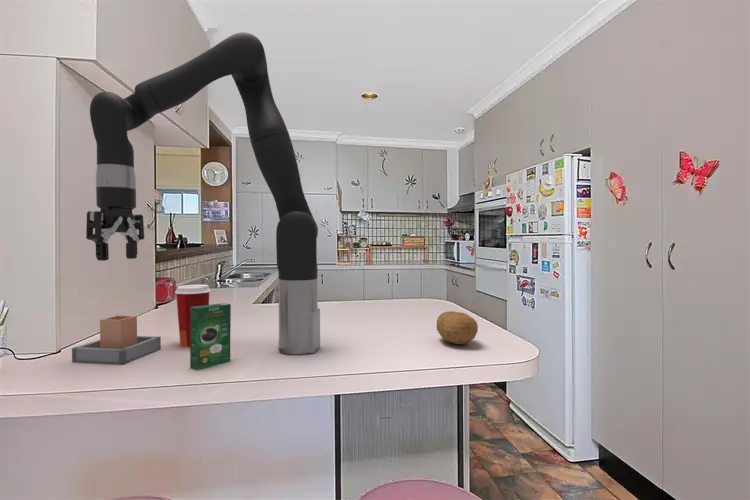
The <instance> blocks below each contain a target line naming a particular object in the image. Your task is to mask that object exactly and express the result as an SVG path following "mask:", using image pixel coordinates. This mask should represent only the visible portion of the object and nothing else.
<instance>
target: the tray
mask: <svg viewBox="0 0 750 500" xmlns="http://www.w3.org/2000/svg"><path fill="white" fill-rule="evenodd" d="M161 341H162V338H161V336H153V335H152V336H148V335H146V336H145V335H137V344H135V345H132V346H129V347H126V348H124V349H110V348H100V339H98V340H95V341H92V342H88V343H85V344H81V345H78V346H75V347H72V348H71V363H74V364H75V363H78V364H98V365H119V366H123V365H126V364H128V363H131V362H133V361H137V360H138V359H140V358H143V357H146V356H148V355H150V354H154V353H155V352H158V351H160V350H161V349H162V344H161Z"/></svg>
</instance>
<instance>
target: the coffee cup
mask: <svg viewBox="0 0 750 500" xmlns="http://www.w3.org/2000/svg"><path fill="white" fill-rule="evenodd" d="M210 292H212V290H211V289H210V286H209V285H208V284H185V285H183V284H182V285H179V286H177V287H176V290H175V291H174V293H175V294H176V306H177V309H176V310H177V320H178V331H179V333H178V334H179V344H180V346H181V347H183V348H185V347H186V348H190V329H191V307H195V306H204V305H210Z"/></svg>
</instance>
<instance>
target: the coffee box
mask: <svg viewBox="0 0 750 500" xmlns="http://www.w3.org/2000/svg"><path fill="white" fill-rule="evenodd" d="M231 306H232V305H231V303H228V302H223V303H222V302H220V303H214V304H213V303H212V304H209V305H204V306H195V307H191V329H190V347H189V354H190V356H189V363H190V364H189V367H190V369H191V370H195V371H200V370H205V369H207V368H211V367H214V366H217V365H221V364H225V363H229V362H231V321H232V320H231V317H232V314H231V312H232V311H231V309H232V308H231Z"/></svg>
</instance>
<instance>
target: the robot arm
mask: <svg viewBox="0 0 750 500" xmlns="http://www.w3.org/2000/svg"><path fill="white" fill-rule="evenodd" d="M268 71H269V70H268V62H267V57H266V53H265V48H264V45H263V43H262V42H261V40H260V39H259V37H257V36H256V35H254V34H252V33H250V32H246V31H245V32H236V33H234V34H232V35H230V36H228V37H227V38H225V39H223V40H222V41H220V42H219V43H217V44H216V45H214V46H212V47H210V48H209V49H207V50H206V51H204V52H203V53H201V54H198V55H197V56H196V57H193V58H192V59H190V60H189V61H187V62H185V63H183V64H182V65H179V66H177V67H175V68H173V69H170V70H168V71H166V72H164V73H160V74H157V75H156V76H153V77H150V78H148V79H146V80H143V81H141V82H140V83H139V82H138V84H136V85H135V86H134V92H133V93H132V94H130V95H128V96H127V97H124V98H122V97H121V96H120V95H118V94H117V93H114V92H111V91H101V92H98V93H97V94H96V95H94V96H93V97H92V99H91V101H90V102H91V103H90V105H89V106H90V107H89V116H90V123H91V127H92V131H93V136H94V139H95V142H96V143H95V144H96V172H95V195H96V196H95V197H96V198H95V199H96V206H97V208H99V209H100V210H99V211H98V210H96V211H95V210H93V211H91V210H89V211H87V212H86V229H85V230H86V232H85V233H86V235H85V237H86V240H88V241H91V242H92V241H93V243H95V257H96V260H97V261H101V262H102V261H103V262H104V261H105V262H106V261H109V255H110V254H109V253H110V252H109V243H108V242H109V240H110V239H111V236H113V235H115V233H119V234H120V235H121V236H123V238H124V239H125V241H126V242H125V256H126V259H129V260H130V259H134V260H135V259H137V258H138V243H139V242H140V241H141V240H144V239H145V228H144V227H145V226H144V216H143V214H133V210H134V209H136V208H137V187H136V186H137V185H136V182H137V181H136V171H135V153H134V146H133V144H132V143H131V141H130V140H129V137H128V132H129V131H130V132H131V131H132V130H134V129H137V128H138V127H140V126H142V125H143V124H145V123H147V122H148V121H149V120H151V119H152V118H154V117H155V116H156V115H157V114H160V113H163V112H165V111H168V110H170V109H172V108H174V107H177V106H179V105H183V104H184V103H185V102H187V101H189V100H190V99H192V98H193V97H195V95H197V94H198V93H199V92H200V91H201V90H203V89H204V88H206V87H207V86H208V85H210V84H211V83H213V82H215V81H217V80H218V79H219V80H220V79H221V78H224V77H226V76H227V77H228V76H232V79H233V80H234V83H235V86H236V88H237V90H238V92H239V96H240V97H241V101H242V103H243V106H244V111H245V117H246V126H247V131H248V135H249V140H250V143H251V148H252V150H253V151H252V152H253V153H254V158H255V160H256V163H257V166H258V168H259V170H260V173H261V174H262V176H263V179H264V181H265V183H266V185H267V187H268V188H269V191H270V193H271V194H272V197H273V200H274V202H275V206H276V210H277V214H278V219H279V220H278V222H277V224H276V226H277V227H276V233H275V238H276V240H275V241H276V243H275V244H276V245H275V246H276V266H277V268H276V269H277V271H278V274H277V275H278V352H280V353H281V354H285V355H305V354H314V353H315V352H316V351H317V350H319V349H320V347H321V309H320V308H319V307H318V306H319V305H318V304H319V303H318V301H319V300H318V299H319V297H318V260H317V259H318V258H317V256H318V255H317V253H318V250H317V238H318V234H319V227H318V224H317V222H316V220H315V217H314V216H313V214H312V212H311V209H310V207H309V204H308V201H307V199H306V197H305V194H304V189H303V185H302V181H301V176H300V171H299V170H300V169H299V165H298V162H297V157H296V154H295V150H294V147H293V143H292V139H291V137H290V133H289V131H288V127H287V125H286V123H285V121H284V118H283V116H282V115H281V114H282V113H280V110H279V108H278V106H277V105H276V102H275V98H274V96H273V91H272V86H271V83H270V82H271V81H270V77H269V72H268ZM137 230H138V231H137ZM137 232H138V233H137Z"/></svg>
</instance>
